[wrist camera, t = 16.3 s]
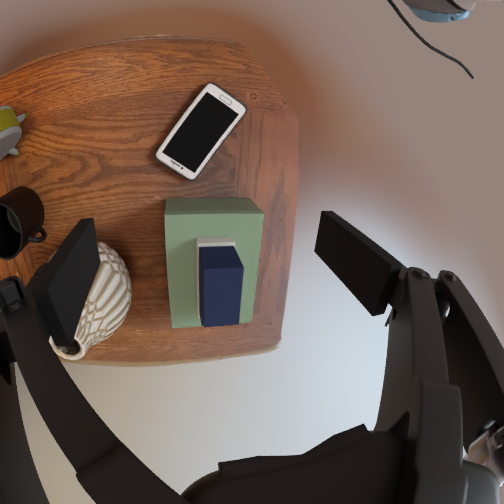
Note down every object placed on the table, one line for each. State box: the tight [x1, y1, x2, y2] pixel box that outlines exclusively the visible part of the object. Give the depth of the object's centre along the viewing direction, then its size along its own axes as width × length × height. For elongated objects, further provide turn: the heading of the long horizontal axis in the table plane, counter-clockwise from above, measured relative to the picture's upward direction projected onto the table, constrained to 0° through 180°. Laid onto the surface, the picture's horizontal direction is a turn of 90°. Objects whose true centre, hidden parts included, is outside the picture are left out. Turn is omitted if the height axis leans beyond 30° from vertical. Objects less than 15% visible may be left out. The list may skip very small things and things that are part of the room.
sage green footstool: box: [164, 198, 264, 328], centre depth 45 cm, size 14×20×8 cm
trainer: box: [196, 237, 244, 327], centre depth 38 cm, size 13×5×8 cm, turn 175°
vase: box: [47, 240, 132, 360], centre depth 35 cm, size 16×16×20 cm
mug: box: [0, 187, 47, 260], centre depth 32 cm, size 9×12×9 cm
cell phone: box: [155, 82, 247, 181], centre depth 38 cm, size 8×15×1 cm, turn 142°
